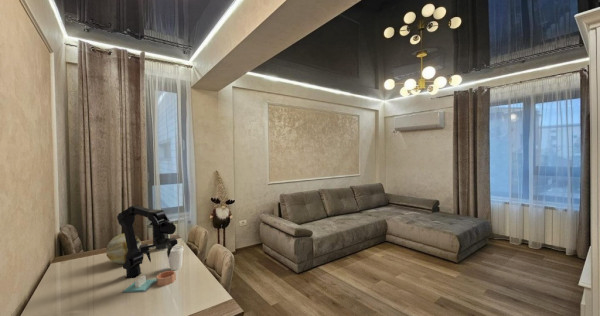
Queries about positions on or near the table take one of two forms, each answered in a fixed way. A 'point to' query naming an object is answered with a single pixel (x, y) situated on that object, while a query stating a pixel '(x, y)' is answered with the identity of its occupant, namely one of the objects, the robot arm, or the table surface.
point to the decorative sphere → (119, 249)
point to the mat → (140, 291)
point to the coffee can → (166, 245)
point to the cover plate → (145, 286)
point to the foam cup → (176, 257)
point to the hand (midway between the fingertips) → (159, 259)
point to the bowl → (165, 278)
